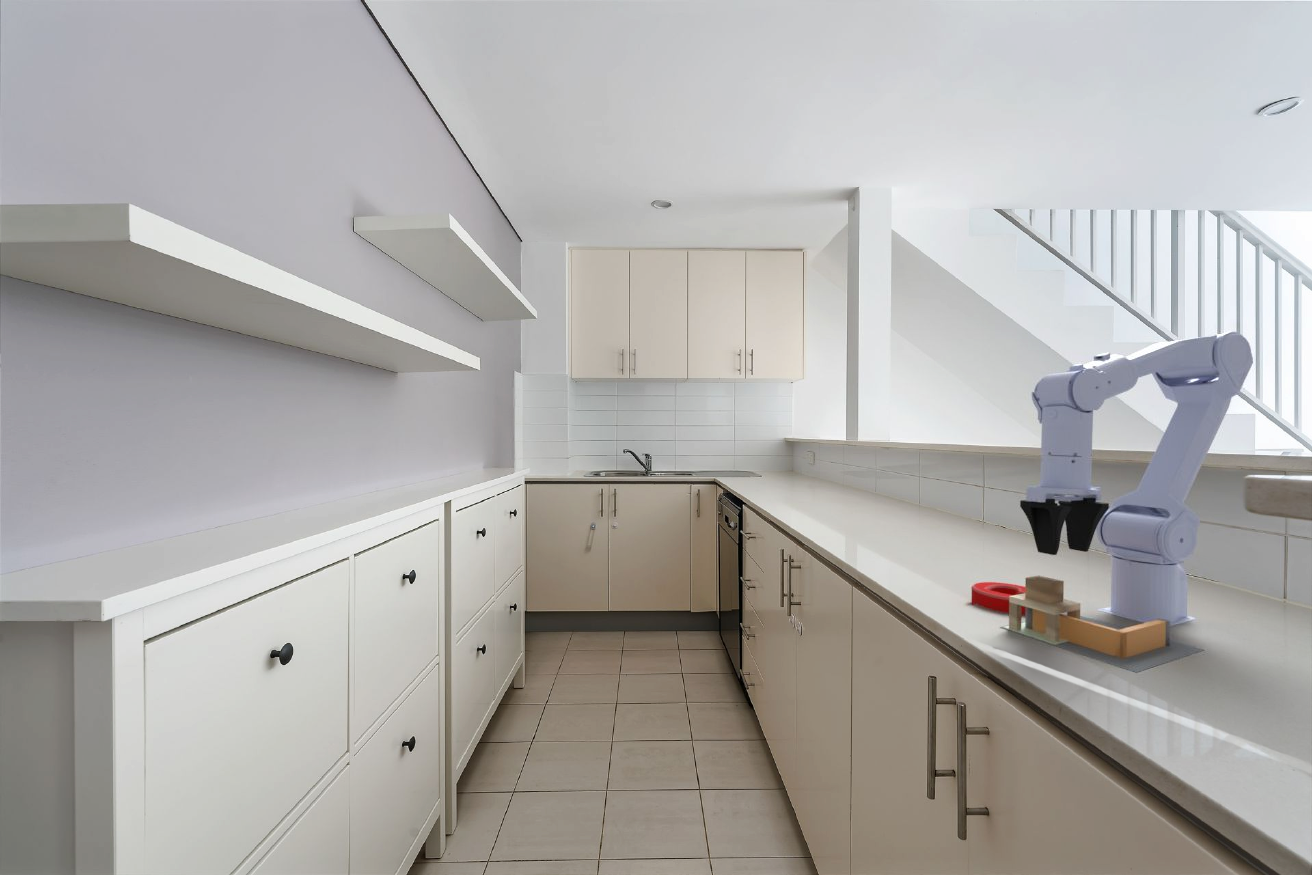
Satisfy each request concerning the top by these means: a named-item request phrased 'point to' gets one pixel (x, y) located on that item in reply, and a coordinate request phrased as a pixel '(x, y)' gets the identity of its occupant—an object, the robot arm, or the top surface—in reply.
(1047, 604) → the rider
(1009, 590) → the decorative ornament
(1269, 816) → the top surface
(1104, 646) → the rail
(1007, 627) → the end pad
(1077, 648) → the mat
